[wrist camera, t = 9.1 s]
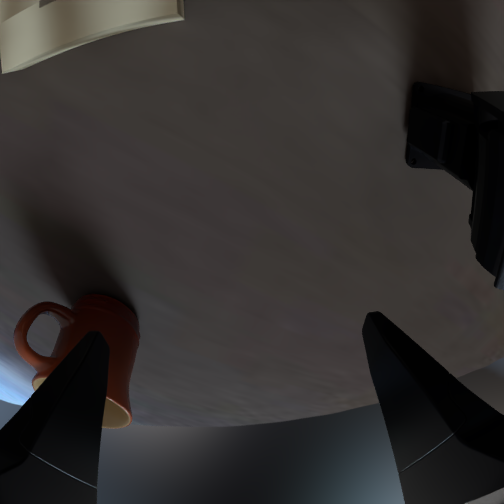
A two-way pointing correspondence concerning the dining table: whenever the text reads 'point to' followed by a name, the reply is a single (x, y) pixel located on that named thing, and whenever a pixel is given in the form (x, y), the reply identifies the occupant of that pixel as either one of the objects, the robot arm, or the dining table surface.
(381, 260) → the dining table surface
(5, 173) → the dining table surface
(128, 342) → the mug
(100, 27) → the socket board
